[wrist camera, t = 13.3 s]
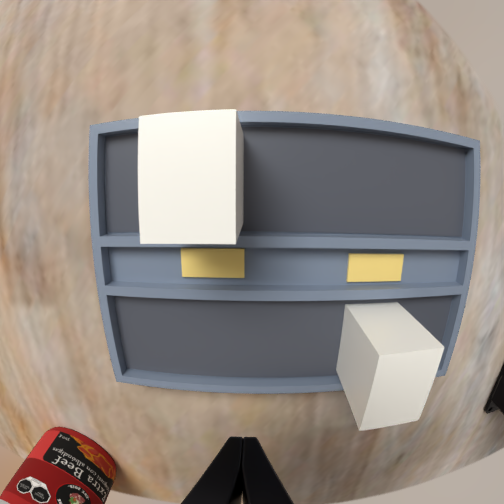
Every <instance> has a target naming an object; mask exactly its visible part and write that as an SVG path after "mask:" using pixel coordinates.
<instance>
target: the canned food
mask: <svg viewBox="0 0 504 504" xmlns="http://www.w3.org/2000/svg"><path fill="white" fill-rule="evenodd" d="M115 477H116V466H115V463H114V461H113V460H112V458H111V457H110V456H109V454H108V453H107V452H106V451H105V450H104V449H103V448H101V447H100V446H99V445H98V444H97V443H95V442H94V441H93V440H91V439H89V438H88V437H86V436H84V435H82V434H81V433H79V432H76V431H74V430H71V429H68V428H63V427H54V428H52V429H50V430H48V431H47V432H45V434H44V435H43V436H42V437H41V439H40V440H39V441H38V443H37V444H36V446H35V447H34V448H33V450H32V451H31V452H30V454H29V455H28V457H27V458H26V459H25V461H24V462H23V464H22V465H21V466H20V468H19V469H18V471H17V472H16V473H15V475H14V476H13V478H12V479H11V481H10V482H9V484H8V485H7V486H6V488H5V490H4V491H3V493H2V494H1V496H0V504H105V502H106V499H107V497H108V494H109V492H110V490H111V487H112V485H113V483H114V480H115Z"/></svg>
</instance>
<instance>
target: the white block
mask: <svg viewBox="0 0 504 504" xmlns="http://www.w3.org/2000/svg"><path fill="white" fill-rule="evenodd" d="M443 350H444V346H443V345H442V344H441V343H440V342H439V341H438V340H437V339H436V338H435V337H434V336H433V335H432V334H431V333H430V332H429V331H428V330H427V329H425V328H424V327H423V326H422V325H421V324H420V323H419V322H418V321H417V320H416V319H415V318H414V317H413V316H412V315H411V314H410V313H409V312H408V311H406V310H405V309H404V308H403V307H402V306H401V305H400V304H399V303H398V302H391V303H368V304H345V311H344V319H343V327H342V334H341V341H340V348H339V354H338V361H337V367H336V371H337V373H338V376H339V379H340V381H341V384H342V386H343V389H344V392H345V394H346V397H347V400H348V402H349V405H350V407H351V410H352V413H353V416H354V418H355V421H356V424H357V426H358V429H359V431H363V430H370V429H376V428H382V427H388V426H393V425H399V424H404V423H408V422H413V421H417V420H419V418H420V415H421V413H422V411H423V408H424V406H425V403H426V400H427V398H428V395H429V392H430V390H431V387H432V384H433V381H434V379H435V376H436V373H437V370H438V367H439V363H440V360H441V357H442V354H443Z"/></svg>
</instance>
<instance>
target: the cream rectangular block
mask: <svg viewBox="0 0 504 504" xmlns="http://www.w3.org/2000/svg"><path fill="white" fill-rule="evenodd" d="M243 201H244V134H243V131H242V127H241V124H240V121H239V117H238V114H237V110H236V109H229V110H203V111H187V112H174V113H164V114H154V115H145V116H139V130H138V208H139V231H140V244H236V242H237V239H238V237H239V234H240V231H241V228H242V225H243Z"/></svg>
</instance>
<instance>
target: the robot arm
mask: <svg viewBox="0 0 504 504" xmlns="http://www.w3.org/2000/svg"><path fill="white" fill-rule="evenodd" d="M498 409H499V410H500V411H501V412H502V413H503V414H504V366H503V368H502V371H501V373H500V376H499V378H498V381H497V383H496V385H495V388H494V390H493V392H492V394H491V396H490V399H489V401H488V403H487V405H486V407H485V409H484V411H485V412H486V413H490V412H493V411H495V410H498ZM242 494H243V504H294V503H293V501H292V500H291V498H290V496H289V495H288V493H287V491H286V490H285V488H284V486H283V484H282V483H281V481H280V479H279V477H278V476H277V474H276V472H275V470H274V469H273V467H272V465H271V463H270V461H269V460H268V458H267V456H266V454H265V452H264V450H263V449H262V447H261V445H260V443H259V441H258V439H257V438H256V437H244V438H242V437H230V438H229V439H228V440H227V441H226V443H225V444H224V446H223V447H222V449H221V450H220V452H219V453H218V454H217V456H216V457H215V459H214V460H213V461H212V463H211V464H210V466H209V467H208V468H207V470H206V471H205V472H204V474H203V475H202V477H201V478H200V479H199V481H198V482H197V483H196V485H195V486H194V487H193V489H192V490H191V491H190V493H189V494H188V495H187V496H186V498H185V499H184V500H183V502H182V503H181V504H241V498H242Z"/></svg>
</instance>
